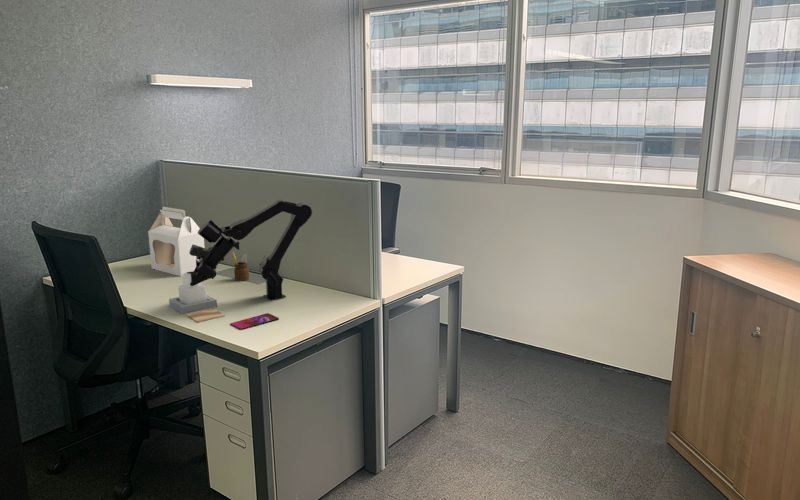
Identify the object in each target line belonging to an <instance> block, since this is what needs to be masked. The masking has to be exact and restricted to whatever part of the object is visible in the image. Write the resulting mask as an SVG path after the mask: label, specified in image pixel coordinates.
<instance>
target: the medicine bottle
mask: <svg viewBox="0 0 800 500" xmlns="http://www.w3.org/2000/svg"><path fill="white" fill-rule="evenodd" d="M196 274H197V272H193V271H192V272H186V273H184V274H183V275H182V276H181V278H182V284H181V285H178V287H177V288H178V289H177V290H178V297H179V300H180V302H181V303H182V304H184V305H189V304H193V303H198V302H203V301H207V295H208V294H207V286H206V284H203V283H198V284H196V285H194V286H191V285H190V283H191V282H192V280H193V278H194V277H195V275H196Z"/></svg>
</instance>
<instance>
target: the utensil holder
mask: <svg viewBox="0 0 800 500" xmlns="http://www.w3.org/2000/svg"><path fill="white" fill-rule="evenodd" d="M235 253H236V252H235V251H232V256H233V259H234V260H235V261H234V262H235V263H234V273H233V274H234V280H235V281H238V282H245V281H248V280H250V272H249V271H250V270H249V269H250V268H249V267H248V266H249V265H248V260H247V258H244V259H242V261H238V262H237V256H236V254H235ZM246 256H247V254H243V257H246ZM244 260H245V261H244Z"/></svg>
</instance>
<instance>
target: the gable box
mask: <svg viewBox="0 0 800 500" xmlns="http://www.w3.org/2000/svg"><path fill="white" fill-rule="evenodd" d="M159 211H160V212H159V214H157V216H156V218H155V219H154V222H153V224H152V225H151V226H150V228H149V230H148V231H147V233H148V234H147V235H148V244H149V254H150V255H149V256H150V264H151V265H150V266H151V270H154V269H155V271H158V270H159V272H163V273H166V274H171V275H174V276H178V277H182V275H183V274H184V273H186V272H192V271H193V272H194V270H195V268H196V260H197V259H196V257H197V256H192V255H190V253H189V252H190V249H191V247H192V244H193V245H197V246H200V247H203V248H205V239H204V238H203V237H202V236H200V235H199V234H198V231H199V229H200V228H201V227H200V226H198V224H197V222H195V221H194V219H193V218H192V217H190V216H187V211H186V210H185V209H183V208H182V209H181V208H176V207H170V206H162V209H159ZM170 218H171V219H173V220H174V219H176V220H181V225H180V227H176V226H174V225H173V223H172V222H171V219H170ZM205 249H206V248H205ZM198 260H199V259H198ZM198 260H197V261H198Z"/></svg>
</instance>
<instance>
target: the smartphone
mask: <svg viewBox="0 0 800 500" xmlns="http://www.w3.org/2000/svg"><path fill="white" fill-rule="evenodd" d="M279 320H280V319H279V316H275V315H273V314H272V313H269V312H267V313H262V314H260V315H256V316H252V317H248V318H245V319H241V320H236V321H233V322H231V323H230V326H231V327H233V328H235V329H237V330H239V331H243V330H246V329H251V328H254V327H258V326H262V325H266V324H268V323H274V322H277V321H279Z"/></svg>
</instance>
